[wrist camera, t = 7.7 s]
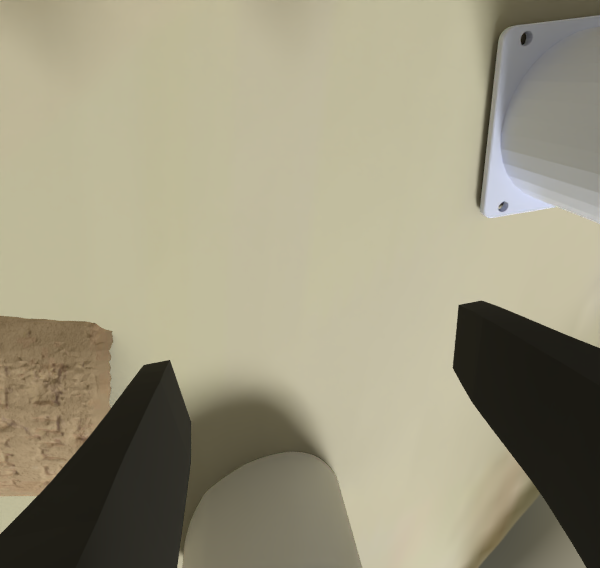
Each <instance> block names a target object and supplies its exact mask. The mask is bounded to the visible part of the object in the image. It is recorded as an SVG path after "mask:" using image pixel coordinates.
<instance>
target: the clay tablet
mask: <svg viewBox="0 0 600 568" xmlns="http://www.w3.org/2000/svg"><path fill="white" fill-rule="evenodd" d="M111 333H112V331H109V330H105V329H103V328H101V327H99V326H98V325H97V324H95V323H90V322H81V321H56V320H47V319H24V318H18V317H8V316H0V496H38V495H39V494H40V493H41V492H42V491H43V490H44V488H45V487H46V486H47V485H48V484H49V483H50V482H51V481H52V480H53V479H54V477H55V476H56V475H57V474H58V473H59V472H60V470H61V469H62V468H63V467H64V466H65V464H66V463H67V462H68V461H69V460H70V459H71V457H72V456H73V455H74V454H75V453H76V451H77V450H78V449H79V448H80V447H81V446H82V444H83V443H84V442H85V441H86V440H87V439H88V437H89V436H90V435H91V433H92V432H93V431H94V430H95V428H96V427H97V426H98V424H99V423H100V422H101V421H102V419H103V418H104V417H105V416H106V414H107V413H108V412H109V410H110V409H111V408H110V405H109V397H110V391H111V387H110V381H111V376H110V373H109V372H110V368H111V367H110V364H109V362H108V361H110V360H111V355H110V353H109V350H110V348H111V345H112V342H113V339H112V334H111Z"/></svg>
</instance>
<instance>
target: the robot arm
mask: <svg viewBox="0 0 600 568" xmlns="http://www.w3.org/2000/svg"><path fill="white" fill-rule="evenodd" d="M523 33H525V34H526V41H525V43H524V44H523V45H522V44H521V40H520V39H521V36H522V34H523ZM502 202H503V203H504V204H503V206H502V207H501V209H498V207H499V205H500V204H501V203H502ZM553 207H558V208H561V209H563V210H566V211H569V212H571V213H574V214H576V215H579V216H581V217H584V218H586V219H589V220H591V221H594V222H596V223H599V224H600V15H597V16H589V17H580V18H572V19H564V20H556V21H548V22H540V23H531V24H523V25H515V26H510V27H508V28H506V29H505V30H504V31H503V32H502V33H501V35H500V37H499V41H498V48H497V58H496V67H495V76H494V85H493V94H492V103H491V112H490V122H489V131H488V140H487V149H486V158H485V167H484V176H483V186H482V195H481V204H480V212H481V213H482V215H484V216H486V217H488V218H495V217H500V216H506V215H512V214H518V213H524V212H530V211H536V210H542V209H547V208H553ZM453 369H454V371H455V373H456V375H457V377H458V378H459V380H460V382H461V384H462V386H463V387H464V389H465V391H466V393H467V394H468V396H469V398H470V399H471V401H472V403H473V404H474V405H475V407H476V408H477V409H478V411H479V412H480V414H481V415H482V416H483V418H484V419H485V420H486V422H487V423H488V424H489V426H490V427H491V428H492V430H493V431H494V432H495V433H496V435H497V436H498V437H499V439H500V440H501V441H502V443H503V444H504V445H505V447H506V448H507V449H508V451H509V452H510V453H511V454H512V456H513V457H514V458H515V460H516V461H517V462H518V464H519V465H520V466H521V468H522V469H523V470H524V471H525V473H526V474H527V475H528V477H529V478H530V479H531V481H532V482H533V484H534V485H535V486H536V488H537V489H538V491H539V492H540V493H541V495H542V496H543V498H544V499H545V501H546V502H547V504H548V505H549V507H550V509H551V510H552V512H553V513H554V515H555V517H556V518H557V520H558V521H559V523H560V525H561V526H562V528H563V529H564V531H565V532H566V534H567V536H568V537H569V539H570V540H571V542H572V544H573V545H574V547H575V549H576V551H577V552H578V554H579V556H580V557H581V559H582V561H583V562H584V564H585V566H586V567H587V568H600V348H598V347H595V346H593V345H590V344H588V343H585V342H583V341H580V340H577V339H575V338H573V337H570V336H568V335H565V334H563V333H560V332H558V331H556V330H553V329H551V328H548V327H546V326H544V325H541V324H539V323H537V322H534V321H532V320H529V319H527V318H525V317H522V316H520V315H518V314H515V313H513V312H510V311H508V310H506V309H503V308H501V307H498V306H495V305H493V304H490V303H487V302H484V301H477V302H472V303H467V304H462V305H459V308H458V319H457V330H456V340H455V351H454V361H453ZM190 464H191V421H190V418H189V415H188V412H187V409H186V406H185V403H184V400H183V397H182V394H181V391H180V388H179V385H178V382H177V379H176V376H175V374H174V371H173V368H172V365H171V362H170V360H168V361H163V362H158V363H153V364H147V365H144V366H143V367H142V368H141V369H140V371H139V372H138V373H137V375H136V376H135V377H134V378H133V380H132V381H131V382H130V384H129V385H128V386H127V388H126V389H125V390H124V392H123V393H122V394H121V396H120V397H119V398H118V400H117V401H116V402H115V404H114V405H113V406H112V408H111V409H110V410H109V412H108V413H107V414H106V416H105V417H104V418H103V419H102V421H101V422H100V423H99V424H98V426H97V427H96V428H95V430H94V431H93V432H92V433H91V435H90V436H89V437H88V439H87V440H86V441H85V442H84V443H83V444H82V446H81V447H80V448H79V449H78V450H77V451H76V453H75V454H74V455H73V456H72V457H71V459H70V460H69V461H68V462H67V463H66V464H65V466H64V467H63V468H62V469H61V470H60V472H59V473H58V474H57V475H56V476H55V477H54V479H53V480H52V481H51V482H50V483H49V484H48V485H47V486H46V487H45V488H44V490H43V491H42V492H41V493H40V494H39V495H38V496H37V497H36V498H35V499H34V500H33V501H32V502H31V503H30V505H29V506H28V507H27V508H26V509H25V510H24V511H23V512H22V513H21V514H20V515H19V516H18V517H17V518H16V519H15V520H14V521H13V522H12V523H11V524H10V525H9V526H8V527H7V528H6V529H5V530H4V531H3V532H2V533H1V534H0V568H177V564H178V556H179V549H180V541H181V534H182V526H183V519H184V511H185V504H186V496H187V488H188V481H189V473H190Z"/></svg>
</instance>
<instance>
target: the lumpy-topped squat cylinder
mask: <svg viewBox="0 0 600 568" xmlns="http://www.w3.org/2000/svg"><path fill="white" fill-rule="evenodd" d="M182 568H362V565H361V561H360V558H359V554H358V551H357V547H356V544H355V540H354V536H353V533H352V529H351V526H350V522H349V519H348V515H347V512H346V508H345V504H344V501H343V497H342V494H341V490H340V487H339V483H338V480H337V477H336V475H335V473H334V472H333V470H332V469H331V468H330V467H329V466H328V465H327V464H326V463H325V462H324V461H323V460H321V459H320V458H318V457H316V456H314V455H312V454H308V453H304V452H282V453H277V454H273V455H269V456H266V457H263V458H260V459H257V460H254V461H252V462H249V463H247V464H245V465H243V466H241V467H239V468H238V469H236V470H235V471H233V472H232V473H230V474H229V475H227V476H226V477H224V478H223V479H221V480H220V481H219V482H217V483H216V484H215V485H213V486H212V487H211V488H210V489H209V490H207V492H206V493H205V494H204V495H203V497H202V499H201V500H200V502H199V504H198V506H197V508H196V510H195V512H194V514H193V516H192V519H191V521H190V524H189V527H188V531H187V535H186V539H185V544H184V555H183V567H182Z"/></svg>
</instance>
